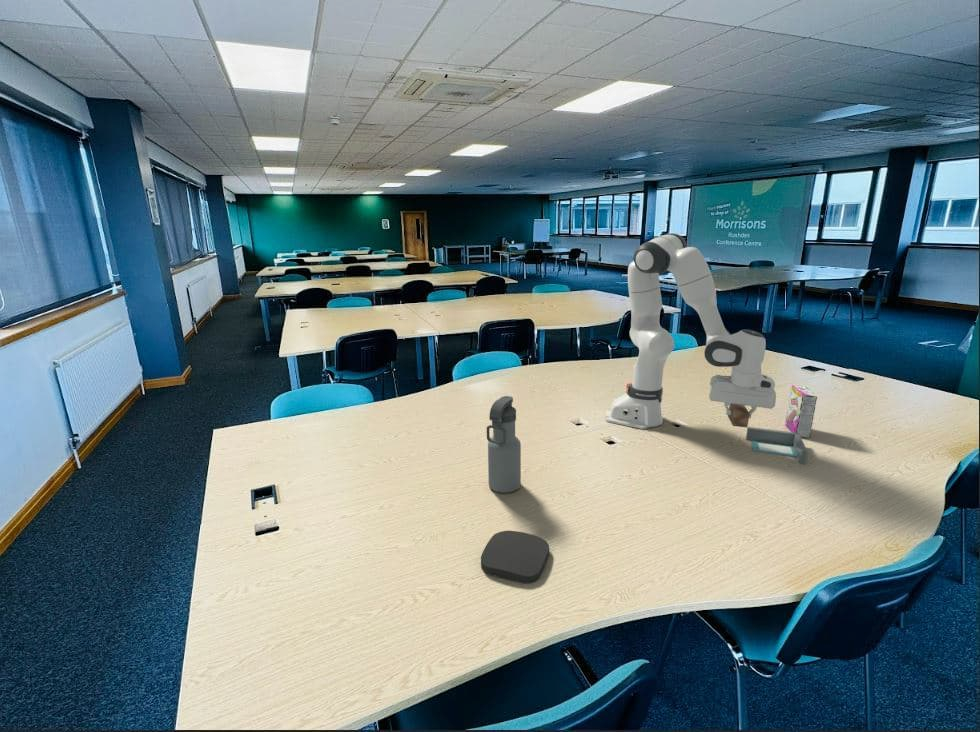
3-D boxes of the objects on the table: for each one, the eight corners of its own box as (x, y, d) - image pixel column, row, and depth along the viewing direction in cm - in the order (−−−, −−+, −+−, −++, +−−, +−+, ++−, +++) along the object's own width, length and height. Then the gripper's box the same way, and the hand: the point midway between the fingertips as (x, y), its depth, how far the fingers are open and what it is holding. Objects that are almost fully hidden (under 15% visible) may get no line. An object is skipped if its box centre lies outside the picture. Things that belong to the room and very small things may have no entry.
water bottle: (509, 498, 142) (509, 409, 133) (481, 489, 147) (479, 402, 138) (526, 482, 150) (526, 397, 142) (499, 474, 155) (498, 392, 147)
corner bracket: (749, 456, 164) (751, 444, 162) (745, 438, 177) (747, 426, 176) (805, 464, 158) (807, 451, 157) (796, 444, 171) (798, 433, 170)
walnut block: (732, 426, 165) (735, 412, 164) (727, 415, 173) (729, 402, 172) (747, 427, 164) (749, 413, 163) (741, 417, 172) (743, 404, 171)
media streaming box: (475, 572, 113) (475, 562, 112) (497, 535, 126) (497, 525, 125) (536, 588, 108) (536, 577, 107) (552, 548, 121) (552, 537, 120)
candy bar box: (783, 425, 187) (790, 384, 182) (798, 426, 186) (805, 385, 181) (795, 437, 177) (802, 395, 172) (810, 438, 176) (818, 396, 171)
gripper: (711, 376, 165) (705, 414, 169) (780, 384, 158) (772, 424, 162) (711, 371, 170) (705, 408, 174) (777, 379, 163) (769, 417, 167)
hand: (738, 415), depth 168 cm, fingers closed on walnut block, 5 cm apart
